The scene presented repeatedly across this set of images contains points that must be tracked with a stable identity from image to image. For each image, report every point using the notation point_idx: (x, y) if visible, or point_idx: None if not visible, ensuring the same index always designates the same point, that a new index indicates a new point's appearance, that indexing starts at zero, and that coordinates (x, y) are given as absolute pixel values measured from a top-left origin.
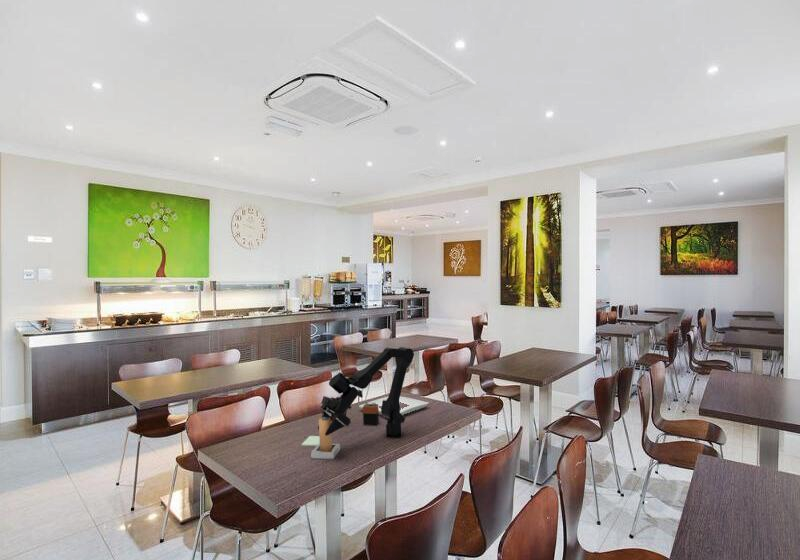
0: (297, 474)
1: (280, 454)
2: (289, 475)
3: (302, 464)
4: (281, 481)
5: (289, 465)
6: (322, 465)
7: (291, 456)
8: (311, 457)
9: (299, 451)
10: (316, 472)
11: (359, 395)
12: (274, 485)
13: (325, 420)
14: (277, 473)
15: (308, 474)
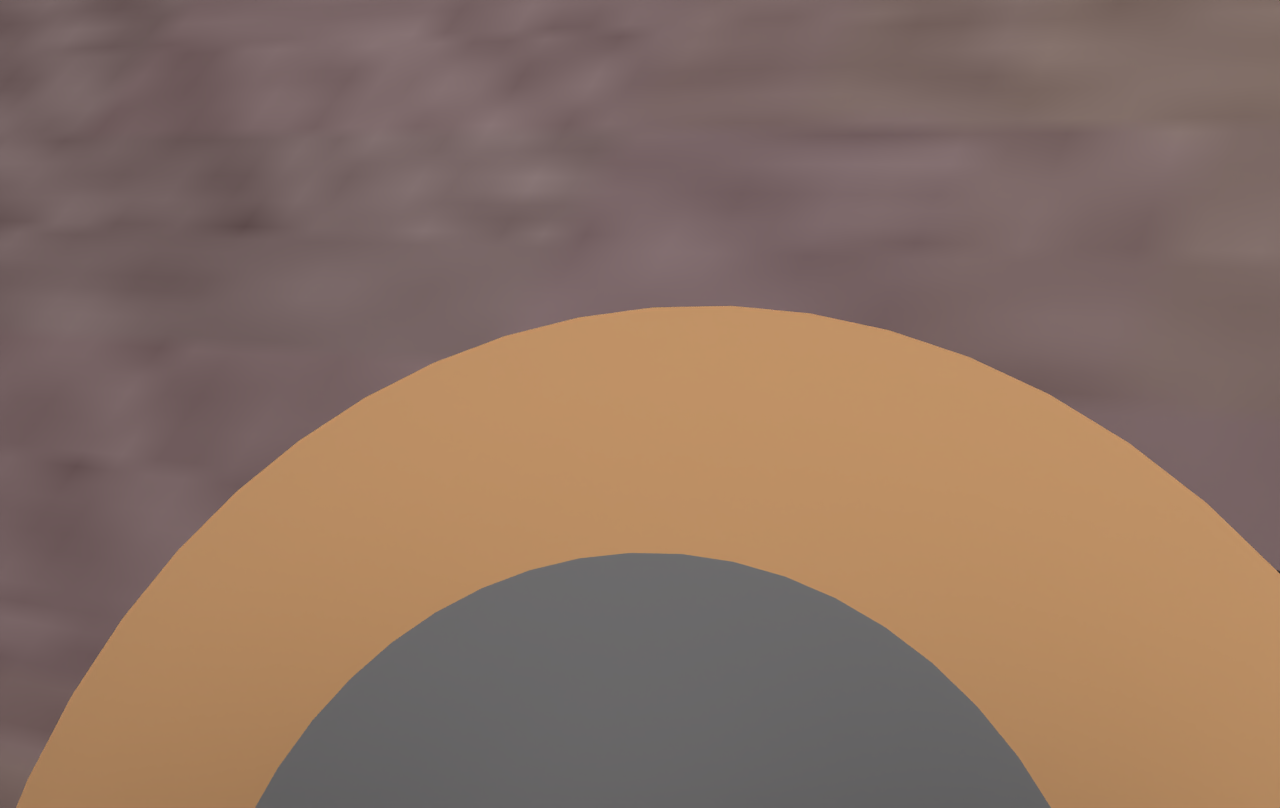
0: (150, 248)
1: (1098, 15)
2: (191, 150)
3: (469, 335)
4: (87, 66)
5: (540, 148)
6: None
7: (928, 177)
8: None
9: (1156, 318)
10: (21, 526)
11: None
12: (41, 3)
13: None
14: (352, 14)
15: (41, 397)
